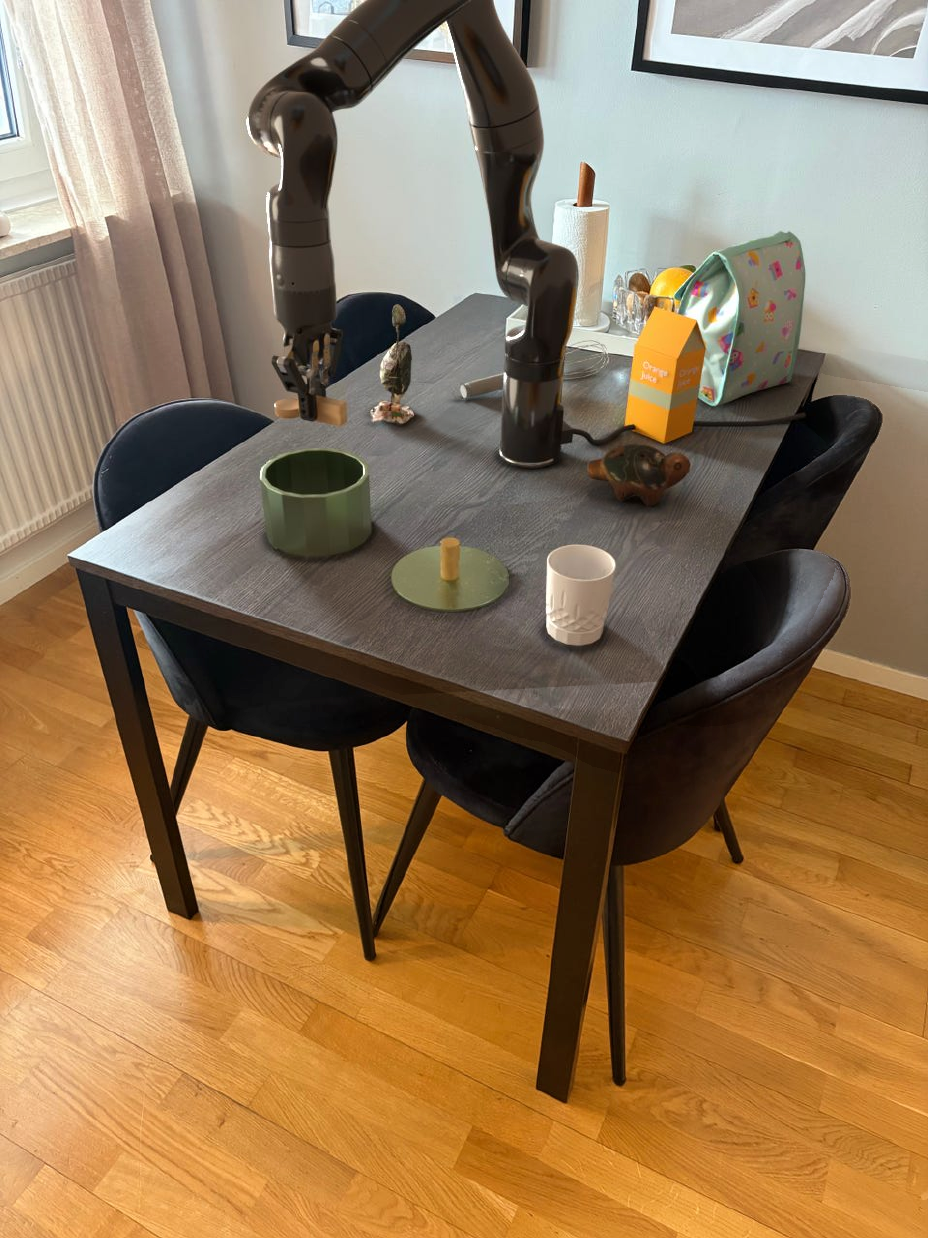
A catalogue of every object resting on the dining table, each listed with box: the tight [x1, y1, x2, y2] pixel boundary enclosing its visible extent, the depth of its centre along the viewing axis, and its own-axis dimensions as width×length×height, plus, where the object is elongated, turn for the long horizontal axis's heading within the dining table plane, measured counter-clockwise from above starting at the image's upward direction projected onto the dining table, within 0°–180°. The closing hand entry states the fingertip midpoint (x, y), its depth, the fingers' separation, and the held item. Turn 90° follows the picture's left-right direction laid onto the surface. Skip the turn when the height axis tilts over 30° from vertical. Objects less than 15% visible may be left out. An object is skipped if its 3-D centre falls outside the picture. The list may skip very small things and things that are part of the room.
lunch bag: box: [673, 230, 806, 407], centre depth 173 cm, size 23×16×27 cm
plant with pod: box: [370, 304, 415, 426], centre depth 161 cm, size 8×11×20 cm
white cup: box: [545, 544, 617, 647], centre depth 113 cm, size 8×8×10 cm
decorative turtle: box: [586, 443, 691, 507], centre depth 142 cm, size 10×15×8 cm, turn 74°
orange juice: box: [624, 306, 706, 444], centre depth 158 cm, size 8×9×20 cm
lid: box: [390, 537, 510, 613], centre depth 122 cm, size 15×15×6 cm
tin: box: [259, 447, 372, 558], centre depth 131 cm, size 14×14×10 cm
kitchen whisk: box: [452, 339, 610, 401], centre depth 178 cm, size 6×34×6 cm, turn 119°
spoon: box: [274, 395, 348, 427], centre depth 123 cm, size 10×4×3 cm, turn 66°
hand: (313, 415), depth 123 cm, fingers closed on spoon
